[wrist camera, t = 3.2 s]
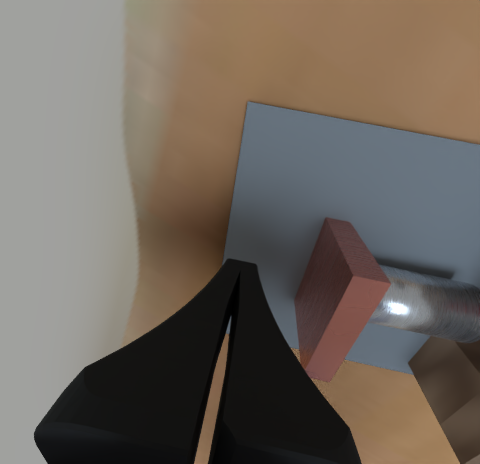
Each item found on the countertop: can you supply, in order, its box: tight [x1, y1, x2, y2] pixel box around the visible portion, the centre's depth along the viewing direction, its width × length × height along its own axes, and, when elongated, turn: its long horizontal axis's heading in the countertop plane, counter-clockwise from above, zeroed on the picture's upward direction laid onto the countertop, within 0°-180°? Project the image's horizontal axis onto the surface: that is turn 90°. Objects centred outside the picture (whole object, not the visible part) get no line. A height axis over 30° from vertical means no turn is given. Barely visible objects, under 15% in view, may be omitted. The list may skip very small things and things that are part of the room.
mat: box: [222, 102, 480, 375], centre depth 13 cm, size 14×20×1 cm
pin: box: [294, 217, 480, 382], centre depth 11 cm, size 7×6×4 cm
